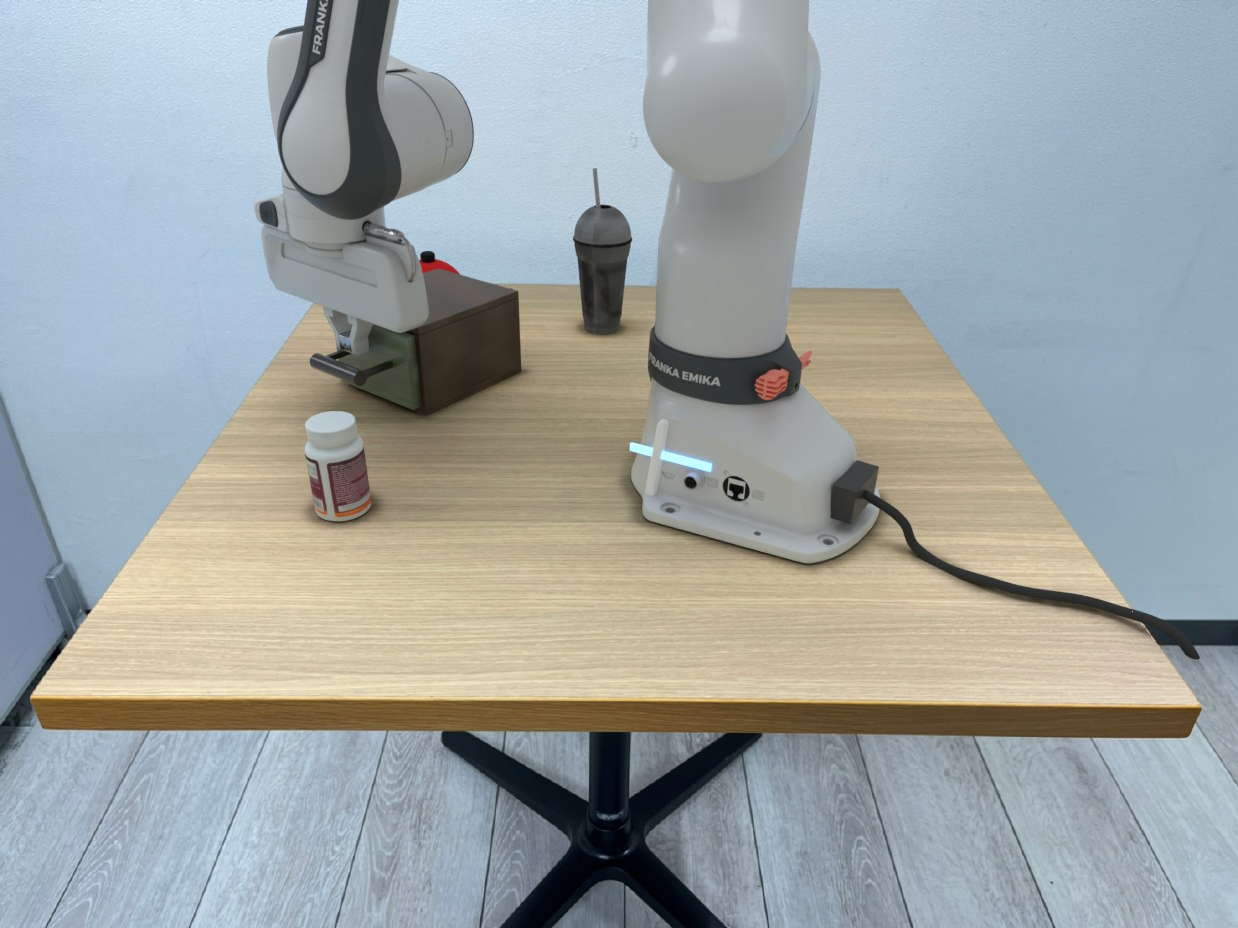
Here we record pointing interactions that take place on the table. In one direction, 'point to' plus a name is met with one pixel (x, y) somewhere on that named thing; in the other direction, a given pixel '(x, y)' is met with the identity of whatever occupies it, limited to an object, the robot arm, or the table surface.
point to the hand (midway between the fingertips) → (353, 350)
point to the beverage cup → (602, 264)
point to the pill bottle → (337, 466)
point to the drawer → (379, 367)
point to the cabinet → (465, 338)
